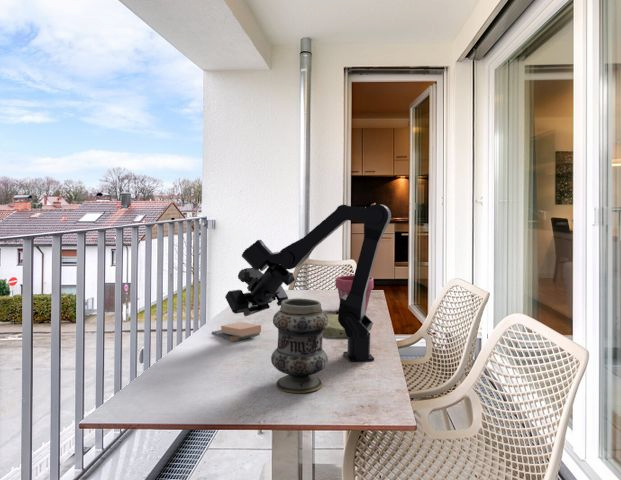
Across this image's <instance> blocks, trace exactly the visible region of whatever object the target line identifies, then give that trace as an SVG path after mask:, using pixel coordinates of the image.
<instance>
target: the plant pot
mask: <svg viewBox="0 0 621 480" xmlns="http://www.w3.org/2000/svg"><path fill="white" fill-rule="evenodd" d="M354 275H355V274H354ZM354 275H340V276H336V277H335V282H334V283H335V288H336V289H337V293H338V299H339V300H340V298H341V297H343V296H344V295H345V294H346V295H348V294H349V292H350V290H351V286H352V282H353V278H354ZM374 286H375V285H374V278H373V277H372V276H370V279H369V283H368V286H367V290H366V306H365V314H366V312H367V311H368V310H367V309H368V305H369V301H370V297H371V292H372V290H373V289H374Z"/></svg>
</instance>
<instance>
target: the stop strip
mask: <svg viewBox="0 0 621 480" xmlns="http://www.w3.org/2000/svg"><path fill="white" fill-rule="evenodd" d="M260 333H261V332H260ZM260 333H257V334H253V335H249V336H244V337H239V336H231V337H230V340H229V342H230V343H231V342H232V343H233V342H237V341H241V340H245V339H248V338H252V337H253V338H254V337H257V336H260V335H261V334H260Z"/></svg>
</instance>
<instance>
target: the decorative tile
mask: <svg viewBox="0 0 621 480" xmlns="http://www.w3.org/2000/svg"><path fill="white" fill-rule="evenodd" d="M325 314H326V315H327V317H328V325H327V326H326V328H325V329H323V335H322V336H323V337H324V336H325V337H328V338H329V337H333V338H347V339H348V337H347V335H346V332H345V329H344V328H343V327H342V326H341V325H340V323H339V322H338V315H339V314H331V313H325Z"/></svg>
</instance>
